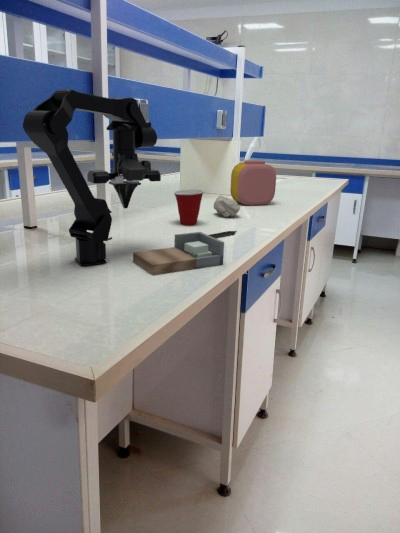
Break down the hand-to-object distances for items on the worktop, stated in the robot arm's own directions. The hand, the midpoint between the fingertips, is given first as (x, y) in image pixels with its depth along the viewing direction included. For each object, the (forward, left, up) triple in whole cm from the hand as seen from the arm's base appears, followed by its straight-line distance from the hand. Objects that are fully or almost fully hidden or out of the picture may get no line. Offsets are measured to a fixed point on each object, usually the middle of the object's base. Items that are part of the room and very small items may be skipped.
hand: (125, 208), depth 122 cm
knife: (+30, +4, -13) cm, 33 cm away
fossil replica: (+54, +31, -12) cm, 63 cm away
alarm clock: (+81, +50, -12) cm, 96 cm away
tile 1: (+13, -16, -10) cm, 23 cm away
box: (+14, -16, -12) cm, 24 cm away
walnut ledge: (+4, -16, -12) cm, 20 cm away
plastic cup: (+33, +24, -12) cm, 43 cm away
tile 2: (+14, -17, -12) cm, 25 cm away
